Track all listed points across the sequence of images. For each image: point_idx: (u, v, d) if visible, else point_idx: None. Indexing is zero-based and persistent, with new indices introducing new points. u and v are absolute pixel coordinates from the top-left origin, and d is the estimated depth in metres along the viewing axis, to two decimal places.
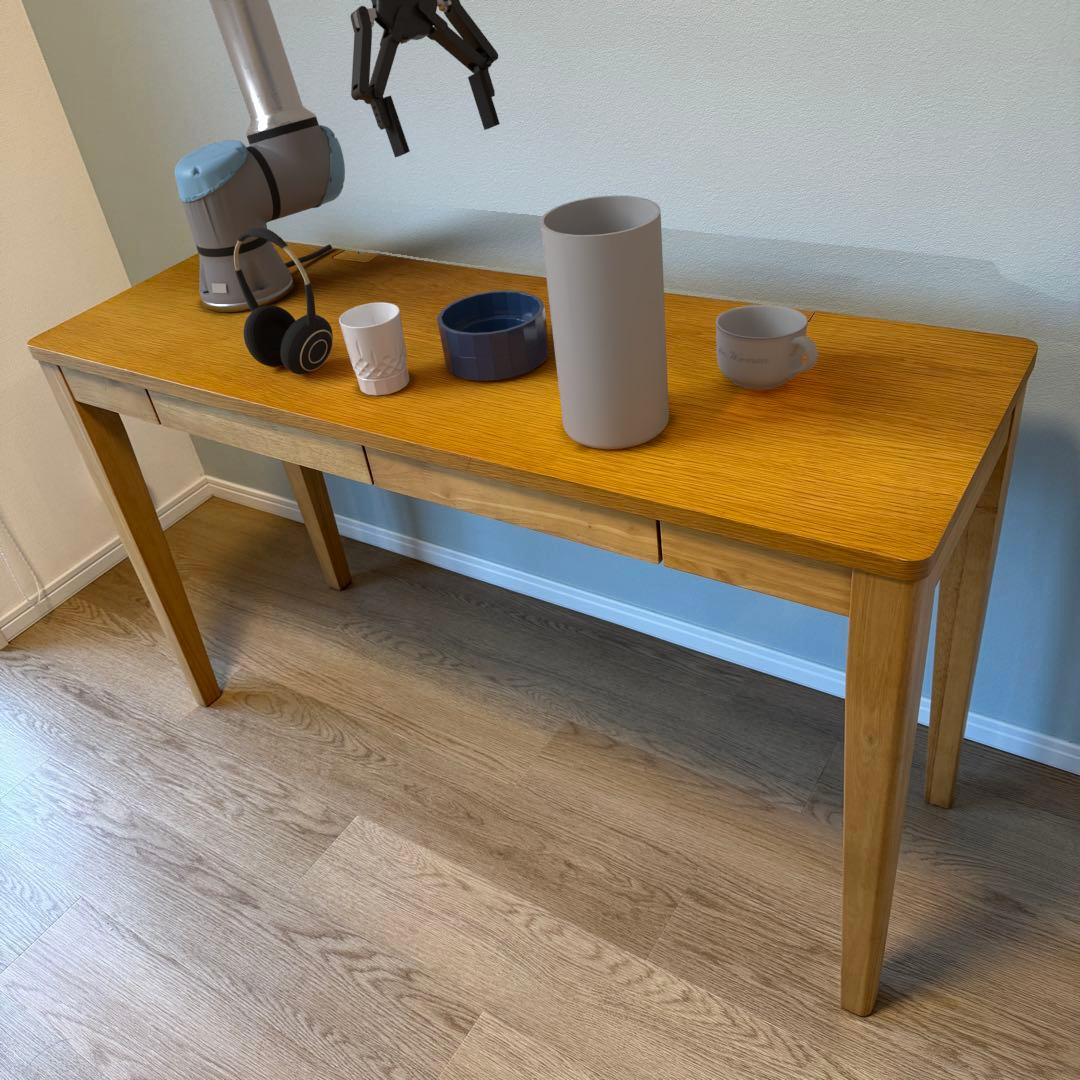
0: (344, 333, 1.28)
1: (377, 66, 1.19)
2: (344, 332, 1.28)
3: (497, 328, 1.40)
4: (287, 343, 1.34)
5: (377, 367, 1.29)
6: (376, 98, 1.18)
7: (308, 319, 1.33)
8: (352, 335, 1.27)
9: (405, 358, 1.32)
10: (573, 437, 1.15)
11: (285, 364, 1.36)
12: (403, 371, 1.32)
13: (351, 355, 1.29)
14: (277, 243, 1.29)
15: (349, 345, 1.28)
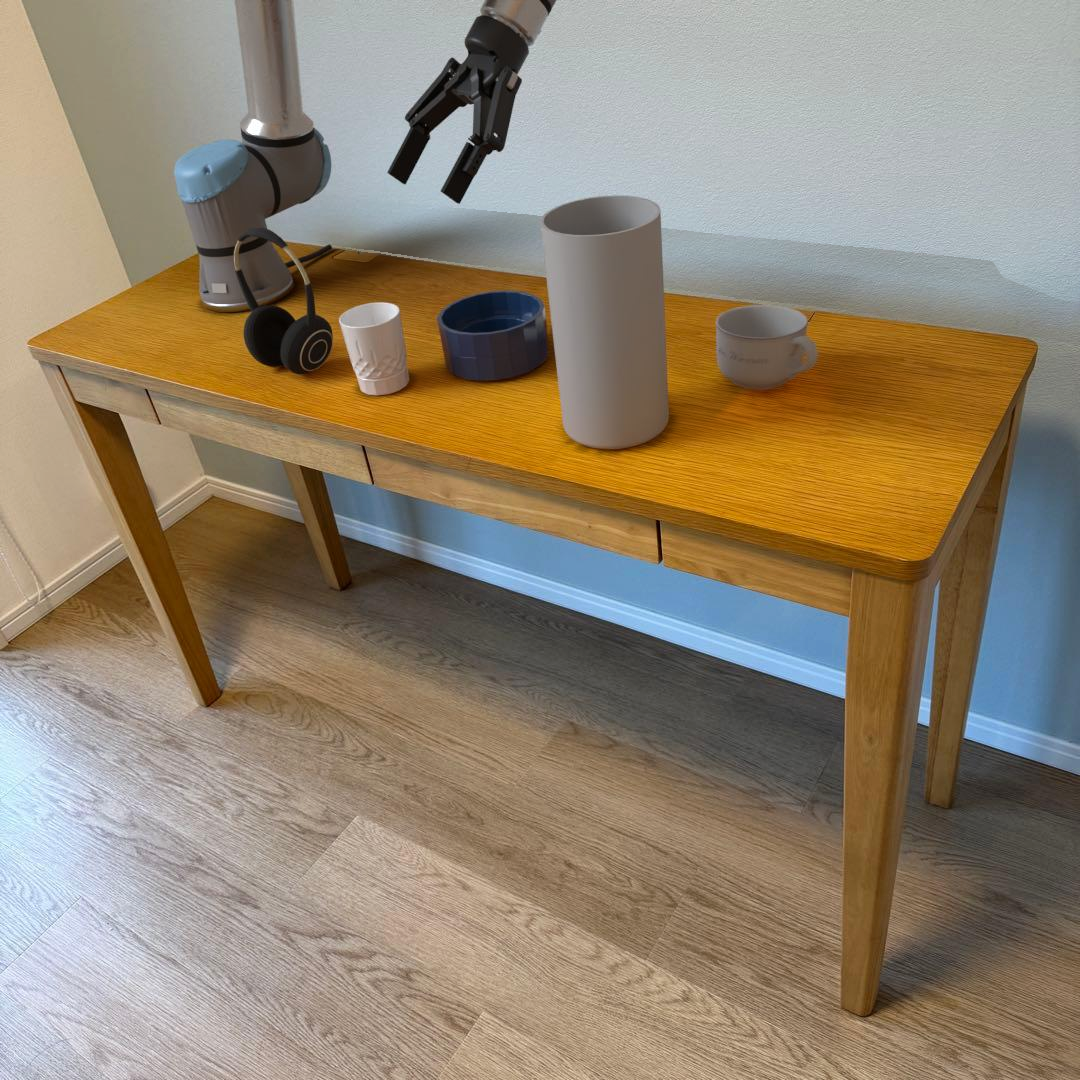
0: (344, 333, 1.28)
1: (486, 119, 1.20)
2: (344, 332, 1.28)
3: (497, 328, 1.40)
4: (288, 343, 1.34)
5: (377, 367, 1.29)
6: None
7: (308, 319, 1.33)
8: (352, 335, 1.27)
9: (405, 358, 1.32)
10: (573, 437, 1.15)
11: (285, 364, 1.36)
12: (403, 371, 1.32)
13: (351, 355, 1.29)
14: (277, 243, 1.29)
15: (349, 345, 1.28)
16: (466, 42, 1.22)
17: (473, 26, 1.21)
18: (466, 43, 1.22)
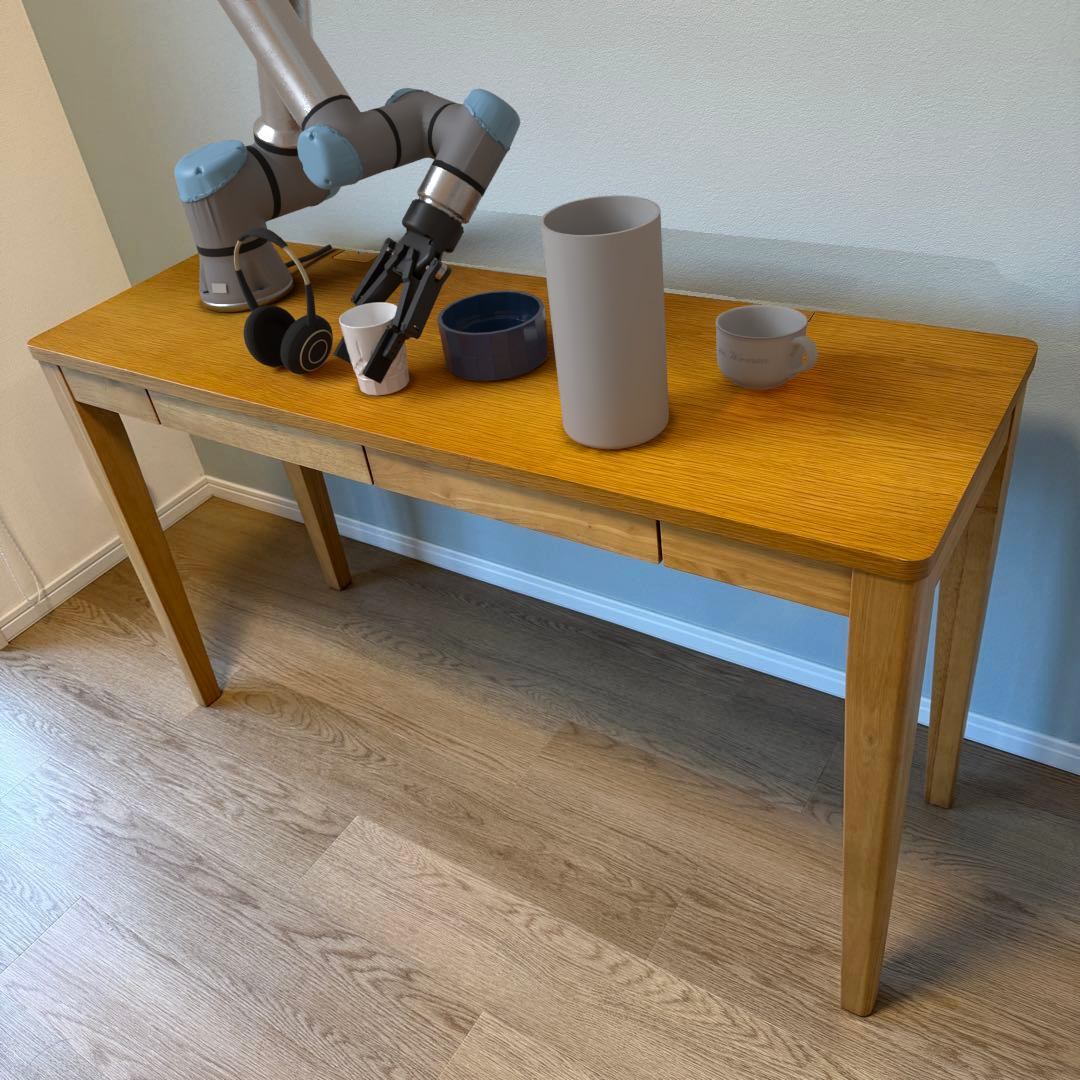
0: (344, 333, 1.28)
1: (409, 306, 1.26)
2: (344, 332, 1.28)
3: (497, 328, 1.40)
4: (288, 343, 1.34)
5: None
6: None
7: (308, 319, 1.33)
8: (352, 335, 1.27)
9: (405, 358, 1.32)
10: (573, 437, 1.15)
11: (285, 364, 1.36)
12: (403, 371, 1.32)
13: (351, 355, 1.29)
14: (277, 243, 1.29)
15: (349, 345, 1.28)
16: (403, 223, 1.27)
17: (409, 209, 1.26)
18: (403, 224, 1.27)
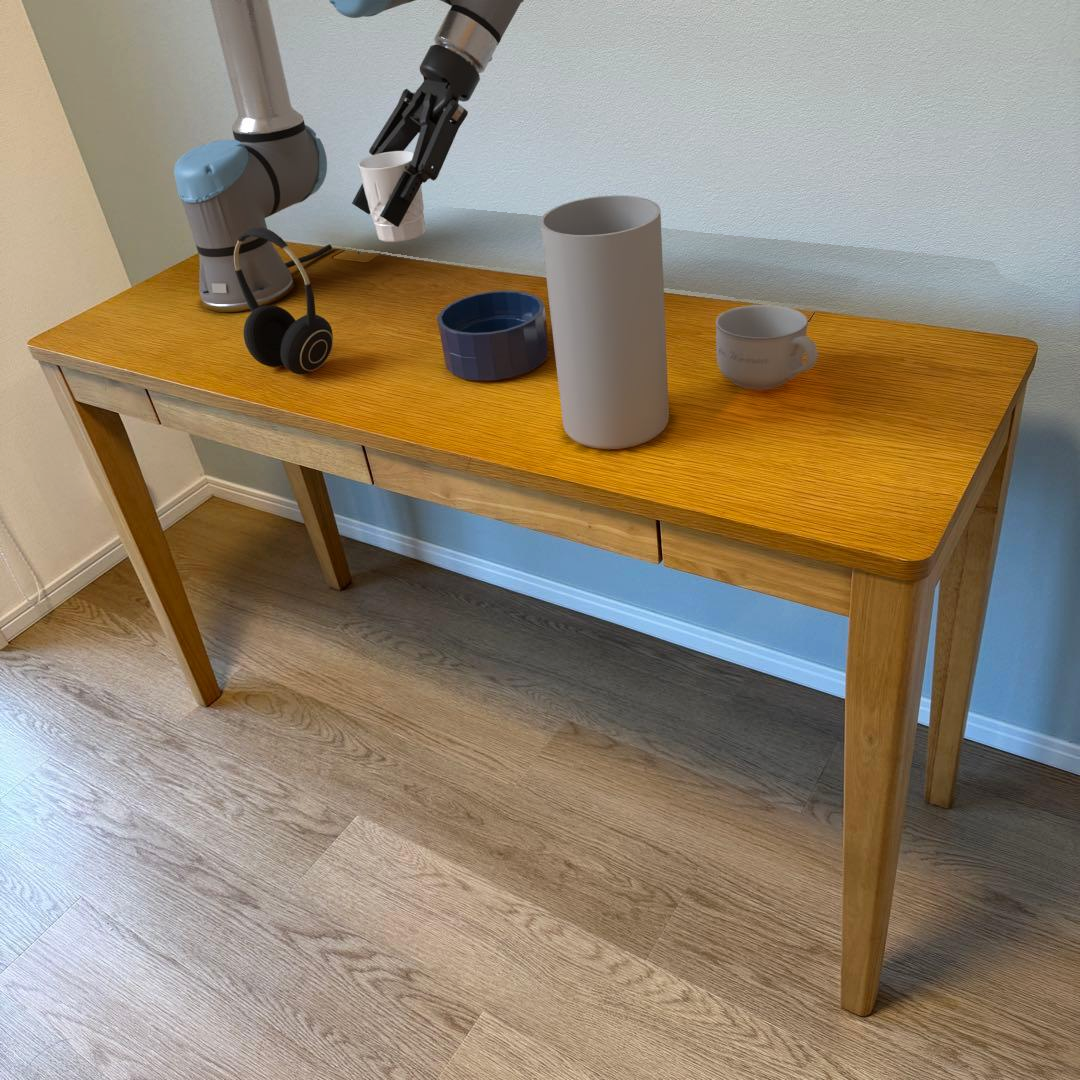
0: (363, 176, 1.31)
1: (427, 149, 1.30)
2: (363, 175, 1.31)
3: (497, 328, 1.40)
4: (288, 343, 1.34)
5: None
6: None
7: (308, 319, 1.33)
8: (371, 177, 1.30)
9: (422, 206, 1.35)
10: (573, 437, 1.15)
11: (285, 364, 1.36)
12: (420, 218, 1.35)
13: (370, 200, 1.33)
14: (277, 243, 1.29)
15: (368, 189, 1.32)
16: (421, 69, 1.31)
17: (427, 54, 1.30)
18: (421, 70, 1.31)
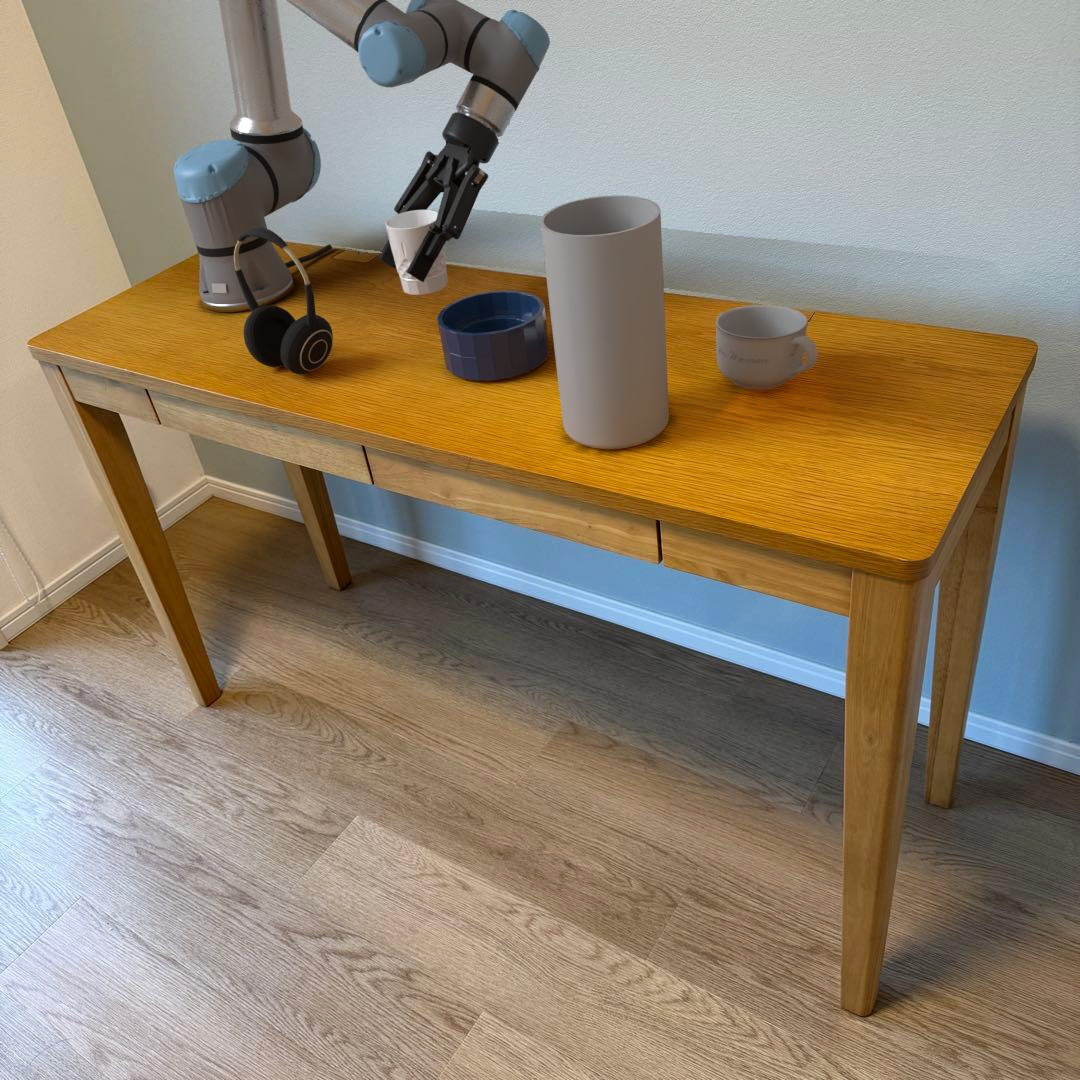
0: (390, 235, 1.40)
1: (450, 209, 1.39)
2: (390, 234, 1.40)
3: (497, 328, 1.40)
4: (288, 343, 1.34)
5: None
6: None
7: (308, 319, 1.33)
8: (398, 236, 1.39)
9: (445, 261, 1.44)
10: (573, 437, 1.15)
11: (285, 364, 1.36)
12: (443, 272, 1.44)
13: (396, 256, 1.42)
14: (277, 243, 1.29)
15: (394, 246, 1.41)
16: (443, 135, 1.40)
17: (449, 121, 1.39)
18: (443, 136, 1.40)
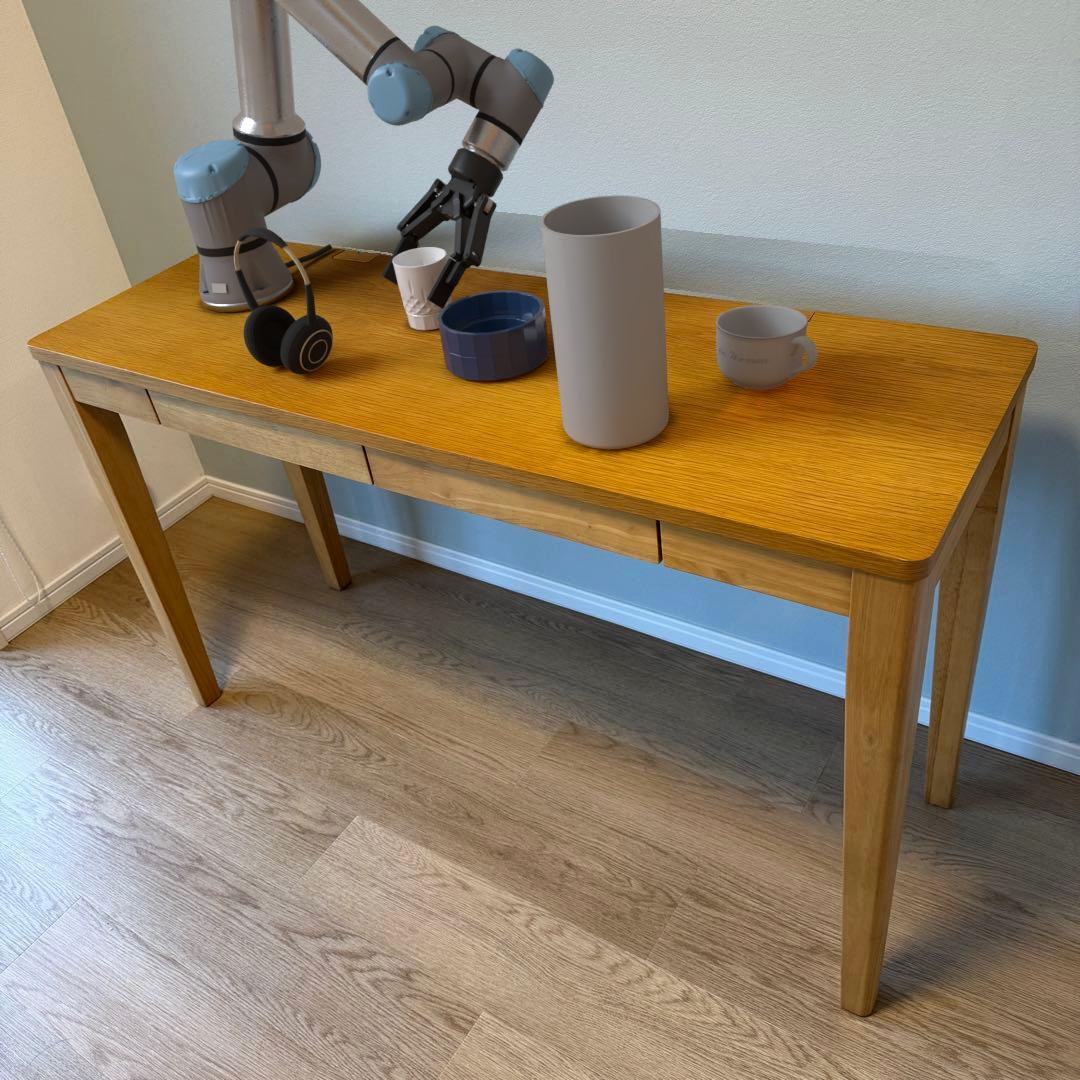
0: (397, 273, 1.43)
1: (465, 238, 1.40)
2: (397, 272, 1.43)
3: (497, 328, 1.40)
4: (288, 343, 1.34)
5: (426, 304, 1.45)
6: None
7: (308, 319, 1.33)
8: (405, 274, 1.42)
9: (450, 297, 1.47)
10: (573, 437, 1.15)
11: (285, 364, 1.36)
12: None
13: (403, 293, 1.45)
14: (277, 243, 1.29)
15: (402, 284, 1.44)
16: (449, 170, 1.42)
17: (455, 157, 1.42)
18: (449, 171, 1.43)
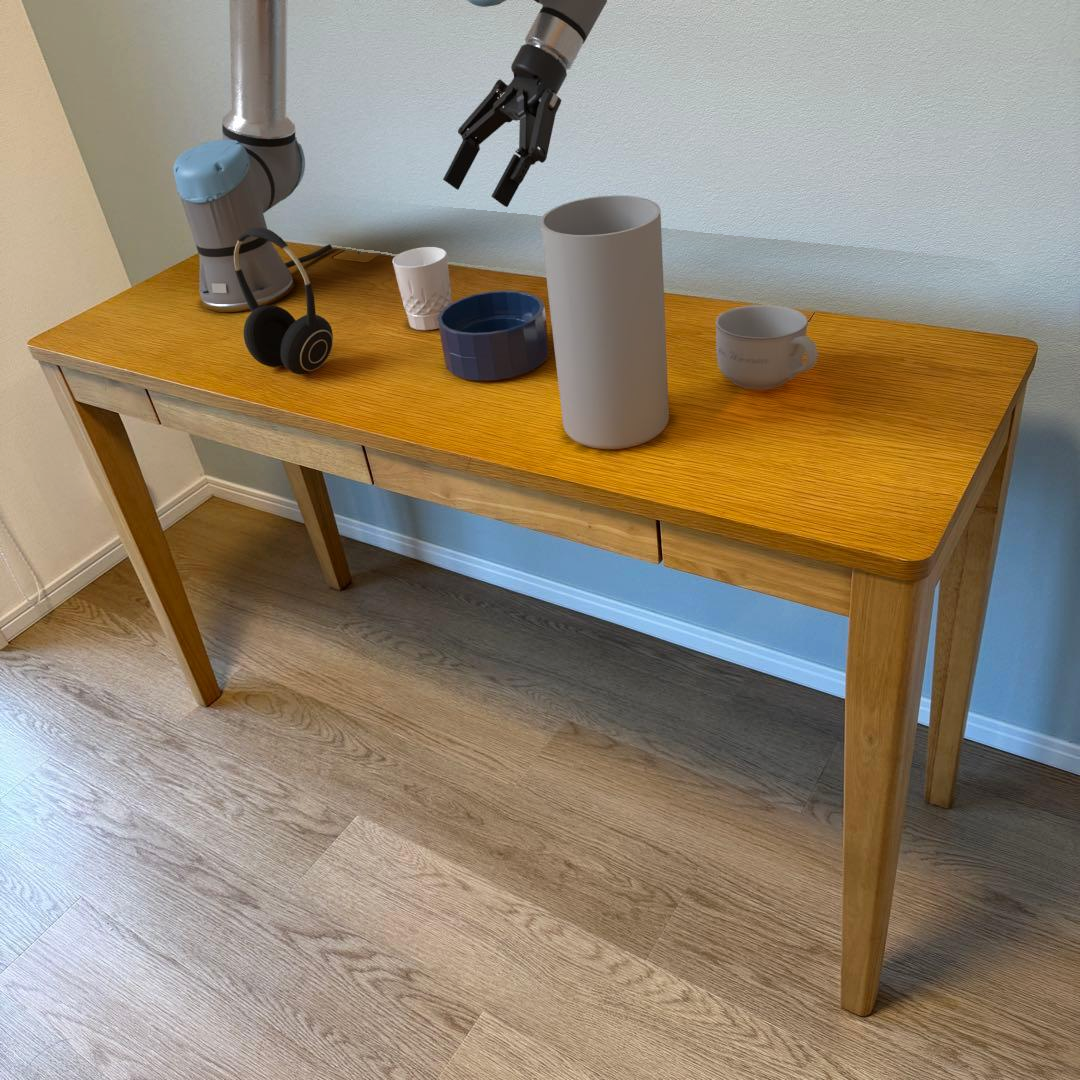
0: (397, 273, 1.43)
1: (530, 134, 1.39)
2: (397, 272, 1.43)
3: (497, 328, 1.40)
4: (288, 343, 1.34)
5: (426, 304, 1.45)
6: None
7: (308, 319, 1.33)
8: (405, 274, 1.42)
9: (450, 297, 1.47)
10: (573, 437, 1.15)
11: (285, 364, 1.36)
12: None
13: (403, 293, 1.45)
14: (277, 243, 1.29)
15: (401, 284, 1.44)
16: (513, 67, 1.41)
17: (519, 53, 1.41)
18: (513, 68, 1.41)
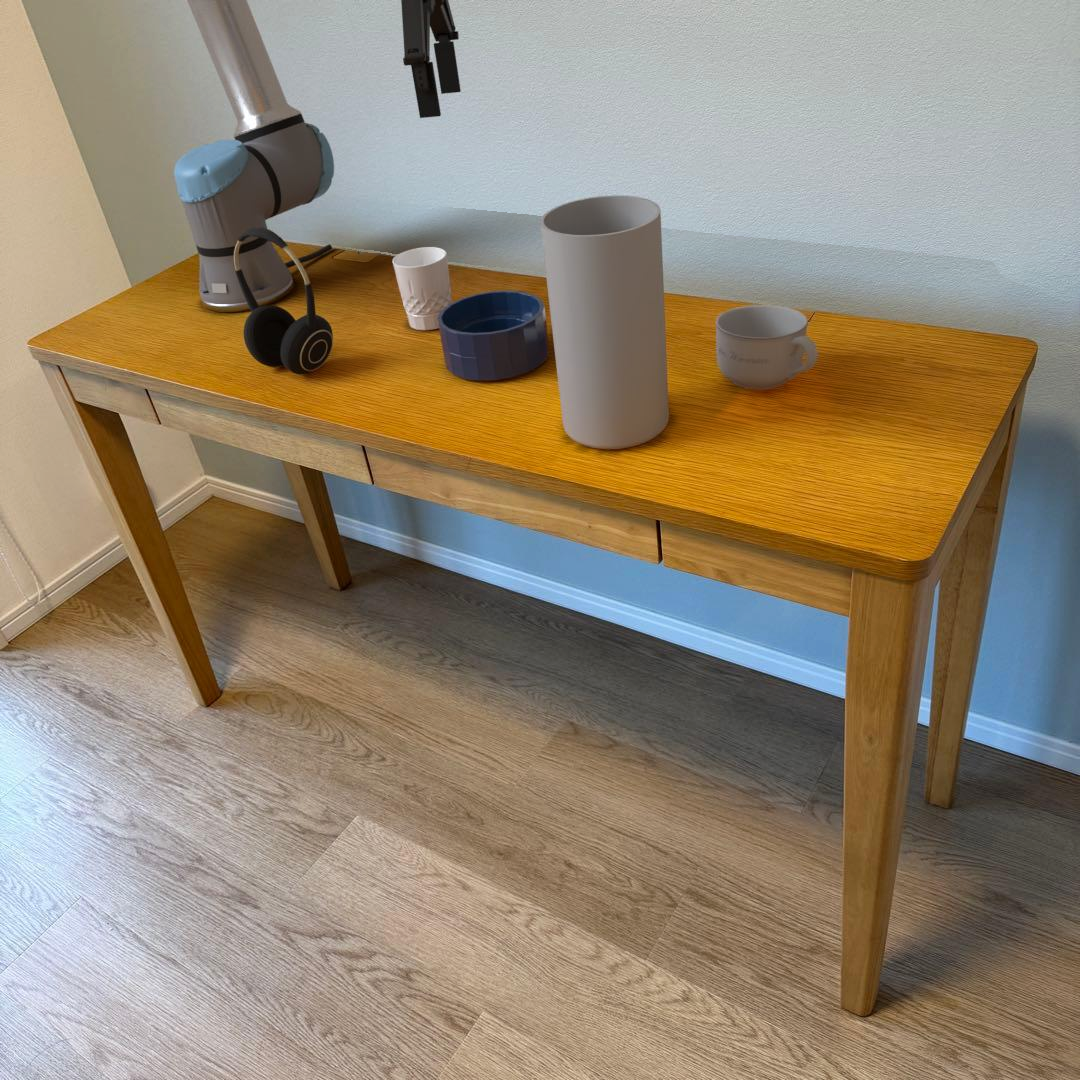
0: (397, 273, 1.43)
1: None
2: (397, 272, 1.43)
3: (497, 328, 1.40)
4: (287, 343, 1.34)
5: (426, 304, 1.45)
6: (425, 63, 1.28)
7: (308, 319, 1.33)
8: (405, 274, 1.42)
9: (450, 297, 1.47)
10: (573, 437, 1.15)
11: (285, 364, 1.36)
12: None
13: (403, 293, 1.45)
14: (277, 243, 1.29)
15: (401, 284, 1.44)
16: None
17: None
18: None
